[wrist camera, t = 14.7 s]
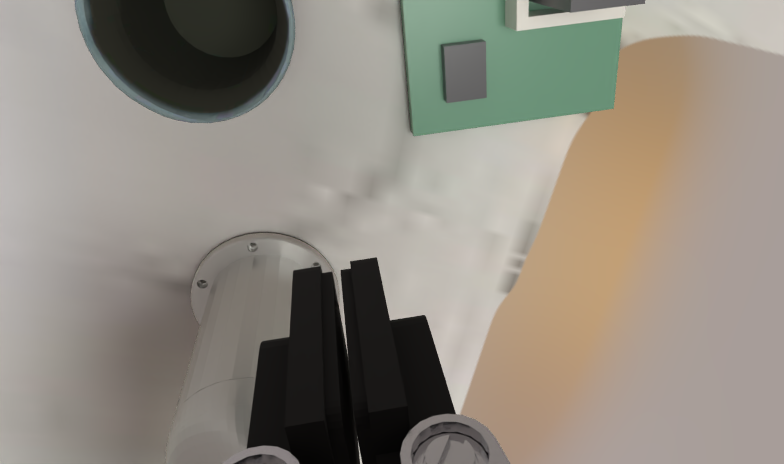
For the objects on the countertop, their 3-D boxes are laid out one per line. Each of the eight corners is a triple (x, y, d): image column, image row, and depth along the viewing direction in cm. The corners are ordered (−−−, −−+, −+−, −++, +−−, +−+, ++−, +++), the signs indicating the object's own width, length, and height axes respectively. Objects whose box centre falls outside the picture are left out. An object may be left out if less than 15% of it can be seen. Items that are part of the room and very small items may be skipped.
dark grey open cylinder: (119, -75, 34) (35, -82, 24) (280, -100, 35) (266, -117, 24) (172, 86, 39) (122, 139, 29) (312, 63, 40) (313, 107, 29)
